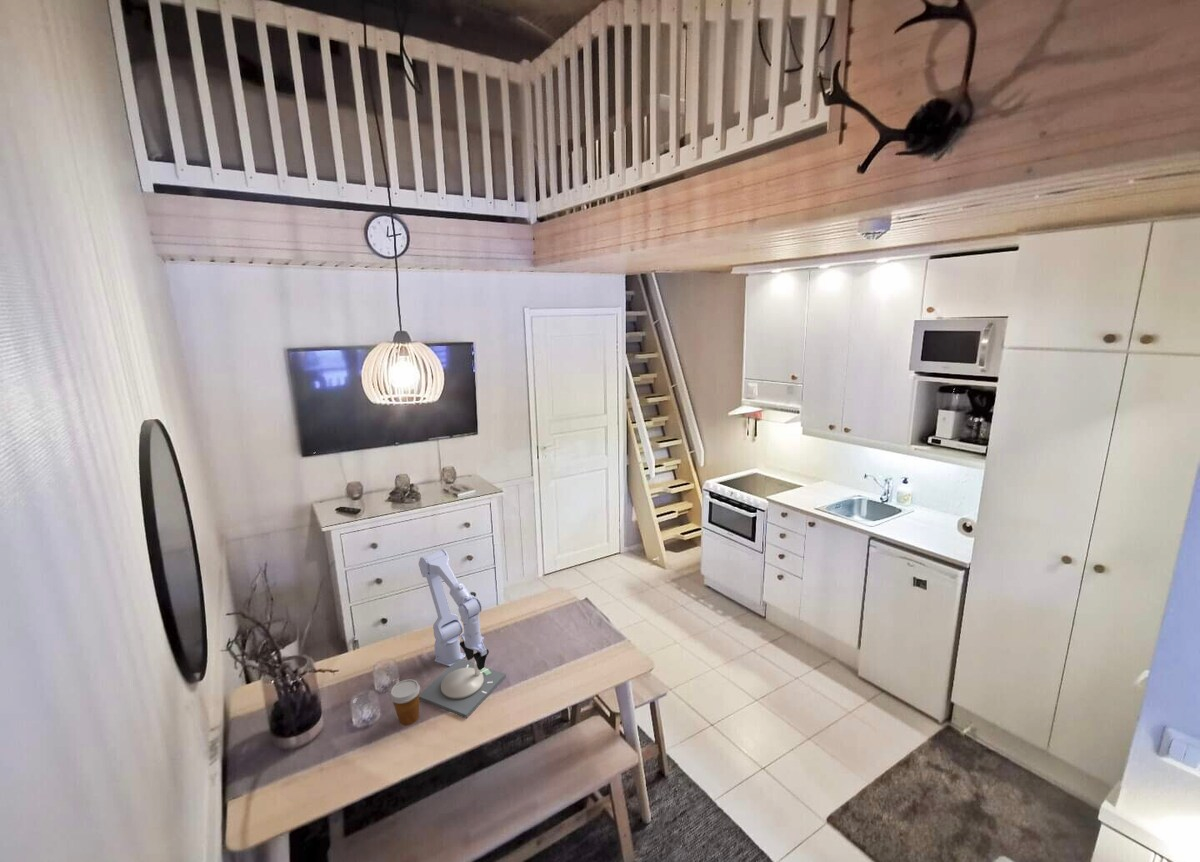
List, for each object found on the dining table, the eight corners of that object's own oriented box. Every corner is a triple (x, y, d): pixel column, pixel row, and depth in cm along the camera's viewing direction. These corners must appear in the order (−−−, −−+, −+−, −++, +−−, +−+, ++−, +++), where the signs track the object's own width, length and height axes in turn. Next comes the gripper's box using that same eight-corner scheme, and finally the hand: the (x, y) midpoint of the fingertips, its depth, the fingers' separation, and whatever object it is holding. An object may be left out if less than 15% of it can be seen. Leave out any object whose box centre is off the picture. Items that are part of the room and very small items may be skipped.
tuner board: (417, 699, 188) (417, 695, 188) (459, 661, 207) (459, 657, 207) (466, 718, 178) (466, 714, 178) (506, 677, 197) (505, 673, 197)
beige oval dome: (450, 705, 182) (448, 690, 181) (435, 681, 194) (433, 667, 193) (497, 682, 192) (496, 668, 191) (480, 661, 204) (478, 647, 203)
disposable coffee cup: (396, 734, 173) (391, 702, 170) (392, 714, 181) (387, 684, 179) (426, 722, 177) (422, 691, 175) (421, 704, 186) (417, 674, 183)
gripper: (492, 634, 189) (495, 667, 193) (471, 618, 200) (475, 649, 203) (475, 643, 185) (478, 677, 188) (454, 626, 195) (458, 658, 198)
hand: (475, 663), depth 195 cm, fingers open, 7 cm apart
